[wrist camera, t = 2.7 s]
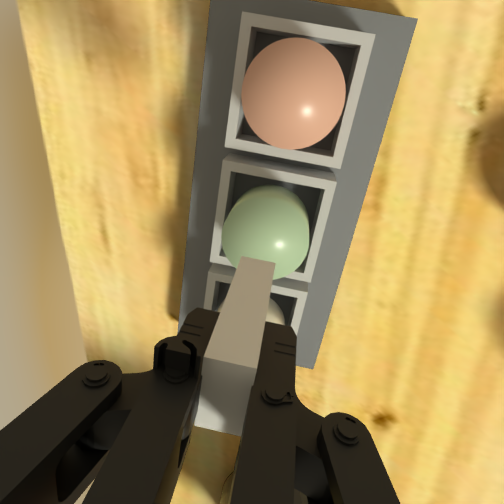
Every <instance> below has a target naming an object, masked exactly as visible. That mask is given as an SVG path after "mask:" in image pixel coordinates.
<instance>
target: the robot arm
mask: <svg viewBox="0 0 504 504" xmlns="http://www.w3.org/2000/svg"><path fill="white" fill-rule="evenodd" d="M275 264H276V263H273V262H269V261H264V260H259V259H254V258H249V257H244V256H241V259H240V261H239V264H238V267H237V269H236V272H235V274H234V277H233V280H232V282H231V285H230V288H229V290H228V293H227V296H226V298H225V301H224V304H223V306H222V309H221V312H217V311H212V310H207V309H203V308H198V307H197V308H196V309H194V310H193V311H191V312H190V313H188V315H187V316H186V318H185V320H184V322H183V325H182V326H181V328H180V330H179V332H178V334H177V336H172V337H167V338H165V339H163V340H161V341H159V342H158V343H157V344H156V345H155V347H154V362H153V370H150V371H147V372H143V373H131V374H122V371H121V369H120V367H119V366H117V365H116V364H115V363H113V362H110V361H106V360H95V361H91V362H88V363H85V364H83V365H81V366H80V367H78V368H77V369H75V370H74V371H73V372H72V373H70V374H69V375H68V376H67V377H66V378H65V379H63V380H62V381H61V382H60V383H58V384H57V385H56V386H54V387H53V388H52V389H51V390H50V391H48V392H47V393H46V394H45V395H43V396H42V397H41V398H40V399H38V400H37V401H36V402H35V403H34V404H32V406H30V407H29V408H27V409H26V410H25V411H24V412H23V413H21V414H20V415H19V416H18V417H17V418H15V419H14V420H13V421H12V422H10V423H9V424H8V425H7V426H5V427H4V428H3V429H2V430H0V504H74V503H75V502H76V500H77V499H78V498H79V497H80V496H81V494H82V493H83V492H84V491H85V490H86V488H87V487H88V486H89V485H90V484H91V482H92V481H93V480H94V479H95V480H94V482H93V484H92V486H91V488H90V489H89V491H88V493H87V495H86V497H85V499H84V501H83V503H82V504H170V502H171V499H172V496H173V492H174V489H175V486H176V483H177V480H178V477H179V474H180V471H181V468H182V465H183V461H184V458H185V455H186V452H187V449H188V446H189V443H190V437H191V430H192V427H193V424H194V421H195V424H194V426H198V427H202V428H207V429H211V430H215V431H219V432H224V433H228V434H232V435H237V436H241V440H240V445H239V449H238V454H237V459H236V463H235V468H234V472H233V473H232V474H231V475H230V476H229V477H228V478H227V480H226V481H225V483H224V486H223V489H222V494H221V499H220V504H400V502H399V499H398V497H397V495H396V492H395V490H394V488H393V485H392V483H391V481H390V478H389V476H388V474H387V472H386V469H385V467H384V465H383V462H382V460H381V458H380V455H379V453H378V451H377V448H376V446H375V444H374V441H373V439H372V437H371V434H370V433H369V431H368V429H367V428H366V426H365V425H364V424H363V423H362V422H361V421H359V420H358V419H357V418H355V417H353V416H351V415H349V414H346V413H341V412H336V413H330V414H329V415H327V416H326V417H325V418H324V417H322V416H320V415H318V414H316V413H314V412H312V411H311V410H309V409H308V408H306V407H305V406H304V405H303V404H302V403H301V402H300V400H299V399H298V397H297V395H296V393H295V370H296V347H297V336H296V334H295V332H294V330H293V328H292V327H291V326H286V325H282V324H277V323H272V322H268V321H266V315H267V309H268V304H269V298H270V292H271V287H272V281H273V275H274V270H275ZM95 477H96V478H95Z"/></svg>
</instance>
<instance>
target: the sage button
mask: <svg viewBox="0 0 504 504" xmlns="http://www.w3.org/2000/svg"><path fill="white" fill-rule="evenodd" d="M221 240H222V247H223V250H224V253H225V255H226V257H227V259H228V260H229V262H230V263H231V264H232V265H233V266H234V267H235V268H236V269H237V267H238V264H239V261H240V259H241V256H244V257H249V258H254V259H259V260H264V261H269V262H273V263H276V264H275V270H274V275H273V280H274V279H279V278H282V277H285V276H287V275H289V274H291V273H292V272H294V271H295V270H296V269H297V268H298V267H299V266H300V265H301V264H302V262H303V261H304V259H305V257H306V255H307V252H308V248H309V218H308V213H307V210H306V207H305V205H304V204H303V202H302V201H301V199H300V198H299V197H298V196H297V195H296V194H295V193H293V192H292V191H290V190H288V189H287V188H284V187H282V186H278V185H260V186H256V187H254V188H251V189H250V190H248V191H246V192H245V193H244V194H243V195H242V196H241V197H240V198H239V199H238V200H237V202H236V203H235V205H234V207H233V208H232V210H231V212H230V213H229V215H228V217H227V219H226V220H225V222H224V225H223V228H222V235H221Z"/></svg>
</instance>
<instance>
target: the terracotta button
mask: <svg viewBox="0 0 504 504" xmlns="http://www.w3.org/2000/svg"><path fill="white" fill-rule="evenodd" d="M345 94H346V88H345V80H344V76H343V73H342V70H341V67H340V65H339V63H338V62H337V60H336V59H335V57H334V56H333V55H332V54H331V53H330V51H328V50H327V49H326V48H325V47H324V46H322V45H320V44H319V43H317V42H315V41H312V40H309V39H305V38H297V37H295V38H286V39H282V40H279V41H276V42H274V43H272V44H270V45H268V46H267V47H266V48H264V49H263V50H262V51H261V52H260V53H259V54H257V56H256V57H255V58H254V59H253V61H252V62H251V64H250V65H249V67H248V69H247V71H246V74H245V77H244V80H243V84H242V93H241V99H242V107H243V111H244V115H245V117H246V120H247V122H248V124H249V125H250V127H251V128H252V130H253V131H254V132H255V134H256V135H257V136H258V137H259V138H261V139H262V140H263V141H265V142H266V143H268V144H270V145H272V146H275V147H277V148H281V149H288V150H294V149H302V148H305V147H309V146H311V145H313V144H315V143H317V142H319V141H320V140H322V139H323V138H324V137H325V136H326V135H327V134H328V133H329V132H330V131H331V130H332V129H333V128H334V126H335V125H336V123H337V122H338V120H339V118H340V116H341V113H342V110H343V107H344V103H345Z"/></svg>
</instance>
